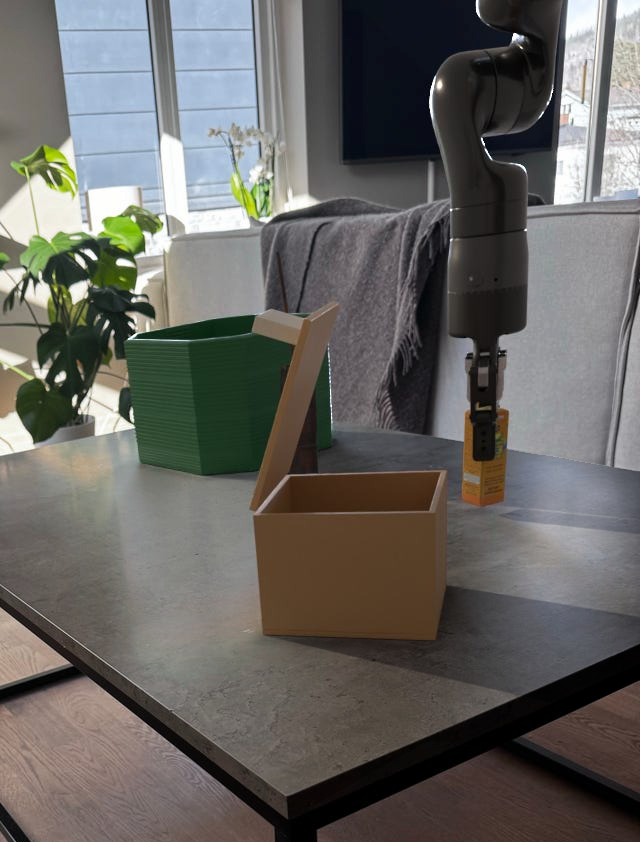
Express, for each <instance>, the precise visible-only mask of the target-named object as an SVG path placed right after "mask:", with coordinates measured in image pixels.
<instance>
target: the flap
mask: <svg viewBox="0 0 640 842" xmlns="http://www.w3.org/2000/svg"><path fill="white" fill-rule="evenodd" d="M340 306H341V302H340V301H337V300H333V301H331V302H329V303H327V304H326V305H324V306H322V307H321V308H319V309H317V310H315V311H314V312H312V313H313V314H311V315H309V316H308V317H306V318H301V317H298V316H294V315H291V314H287V313H285V311H280V310H277V309H275V308H274V309H273V308H270V309H268V310H266V311H263V312H262V313H259V314H260V315H258V316H256V317H255V321H254V324H253V328H252V332H254V333H257V334H260V335H264V336H267V337H270V338H274V339H277V340H280V341H284V342H287V343H290V344H293V345H296V347H295V351H294V354H293V358H292V361H291V365H290V368H289V372H288V375H287V379H286V382H285V386H284V389H283V393H282V396H281V400H280V403H279V407H278V410H277V414H276V417H275V421H274V424H273V428H272V431H271V435H270V438H269V441H268V445H267V448H266V452H265V455H264V459H263V462H262V466H261V469H259V473H258V477H257V481H256V483H255V487H254V491H253V495H252V497H251V501H250V505H249V509H248V510H249V511H251V512H254V513H255V512H256V511H257V510H258V509H259V508H260V506H261V505H262V504H263V503H264V501H265V500H266V499H267V498H268V497H269V495H270V494H271V493H272V492H273V491H274V489H275V488H276V487H277V486H278V484H279V483H280V482H281V481H282V480H283V478H284V477H285V476H286V475H287V474H288V472H289V470H290V467H291V464H292V460H293V457H294V454H295V451H296V447H297V444H298V441H299V437H300V434H301V431H302V427H303V424H304V421H305V418H306V414H307V411H308V408H309V404H310V401H311V398H312V395H313V391H314V388H315V385H316V381H317V378H318V375H319V372H320V368H321V365H322V362H323V358H324V355H325V352H326V348H327V345H328V342H330V339H331V335H332V331H333V329H334V325H335V322H336V318H337V315H338V311H339V309H340Z"/></svg>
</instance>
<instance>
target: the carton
mask: <svg viewBox="0 0 640 842" xmlns="http://www.w3.org/2000/svg"><path fill="white" fill-rule="evenodd" d="M252 520H253V533H254V534H253V535H254V545H255V558H256V559H255V560H256V569H257V579H258V580H257V581H258V582H257V583H258V593H259V605H260V618H261V629H262V635H263V636H264V635H265V636H289V637H290V636H291V637H292V636H293V637H294V636H295V637H322V638H346V639H347V638H349V639H377V640H406V641H407V640H408V641H436V638H437V634H438V629H439V624H440V618H441V615H442V609H443V604H444V599H445V595H446V590H447V583H448V581H447V580H448V579H447V578H448V470H447V469H442V470H441V469H439V470H437V469H436V470H404V471H375V472H374V471H373V472H371V471H369V472H367V471H366V472H340V473H339V472H337V473H318V474H300V475H286V476H285V477H284V478H283V480H282V481H281V482H280V483H279V484H278V486H277V487H276V488H275V489H274V490H273V492H272V493H271V494H270V495H269V497H268V498H267V499H266V500H265V501H264V503H263V504H262V505H261V506H260V507H259V509H258V510H257V511H256V512H255V511H254V513H253V515H252Z"/></svg>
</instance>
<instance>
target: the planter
mask: <svg viewBox="0 0 640 842" xmlns="http://www.w3.org/2000/svg"><path fill="white" fill-rule="evenodd" d="M288 313H289V312H288ZM313 313H314V312H301V313H300V312H299V313H297V312H296V313H293V312H291V313H289V314H291V315H294V316H298V317H301V318H306V317H308V316H309V315H311V314H313ZM260 314H261V313H251V314H243V315H233V316H224V317H215V318H209V319H204V320H199V321H193V322H189V323H184V324H183V323H182V324H178V325H173V326H170V327H168V326H167V327H163V328H158V329H154V330H148V331H143V332H137V333H135V334H133V335H132V336H130V337H129V338H127V339H126V340H124V341H123V345H124V346H123V348H124V353H125V354H124V357H125V361H126V362H125V364H126V369H127V370H126V372H127V375H128V378H127V380H128V385H129V386H128V387H129V392H130V394H129V395H130V396H131V397H130V400H131V401H130V403H131V408H132V416H133V424H134V425H133V427H134V431H135V432H134V434H135V435H136V436H135V442H136V444H137V445H136V446H137V453H138V454H137V455H138V461H139V462H140V463H141V464H147V465H152V466H155V467H156V466H157V467H160V468H166V469H170V470H175V471H181V472H185V473H189V474H190V473H191V474H194V475H200V476H208V475H209V476H210V475H222V474H235V473H247V472H249V473H250V472H255V471H258V470H260V469H261V466H262V462H263V459H264V455H265V452H266V448H267V445H268V441H269V438H270V435H271V431H272V428H273V424H274V421H275V417H276V414H277V410H278V407H279V403H280V400H281V397H280V386H281V382H280V377H281V366H287V365H291V361H292V359H291V352H290V346H289V343H287V342H284V341H280V340H277V339H274V338H270V337H267V336H264V335H260V334H257V333H254V332H252V328H253V324H254V321H255V317H256V316H258V315H260ZM329 342H330V341H329ZM329 342H328V345H327V348H326V352H325V355H324V358H323V362H322V365H321V368H320V372H319V375H318V378H317V381H316V407H317V410H316V413H317V443H318V448H317V451H318V452H319V451H322V450H327V449H329V448H332V447H333V445H334V444H333V443H334V442H333V440H334V439H333V412H332V411H333V409H332V408H333V407H332V387H331V386H332V385H331V384H332V383H331V362H330V343H329ZM293 347H294V351H295V347H296V345H294V346H293Z"/></svg>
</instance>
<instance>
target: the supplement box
mask: <svg viewBox="0 0 640 842" xmlns="http://www.w3.org/2000/svg"><path fill="white" fill-rule="evenodd" d="M477 410H491V406H486V407H482V408H477ZM497 413H498V421H497V424H496V436H495V458H494V459H493V460H492V461H474V460H473V458H472V451H473V426H472V425H471V422H470V419H469V414H470V409H467V410H466V411H465V412H464V430H463V432H464V433H463V453H462V454H463V455H462V456H463V458H462V459H463V460H462V485H461V487H462V488H461V489H462V490H461V501H462V502H463V503H466V504H469V505H471V506H475V507H479V508H484V507H487V506H491V505H495V504H499V503H503V502H504V501H505V487H506V473H507V471H506V470H507V453H508V439H509V438H508V437H509V435H508V434H509V420H510V419H509V418H510V411H509V410H508V409H505V408H503V407H500V408H499V407H497Z"/></svg>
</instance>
